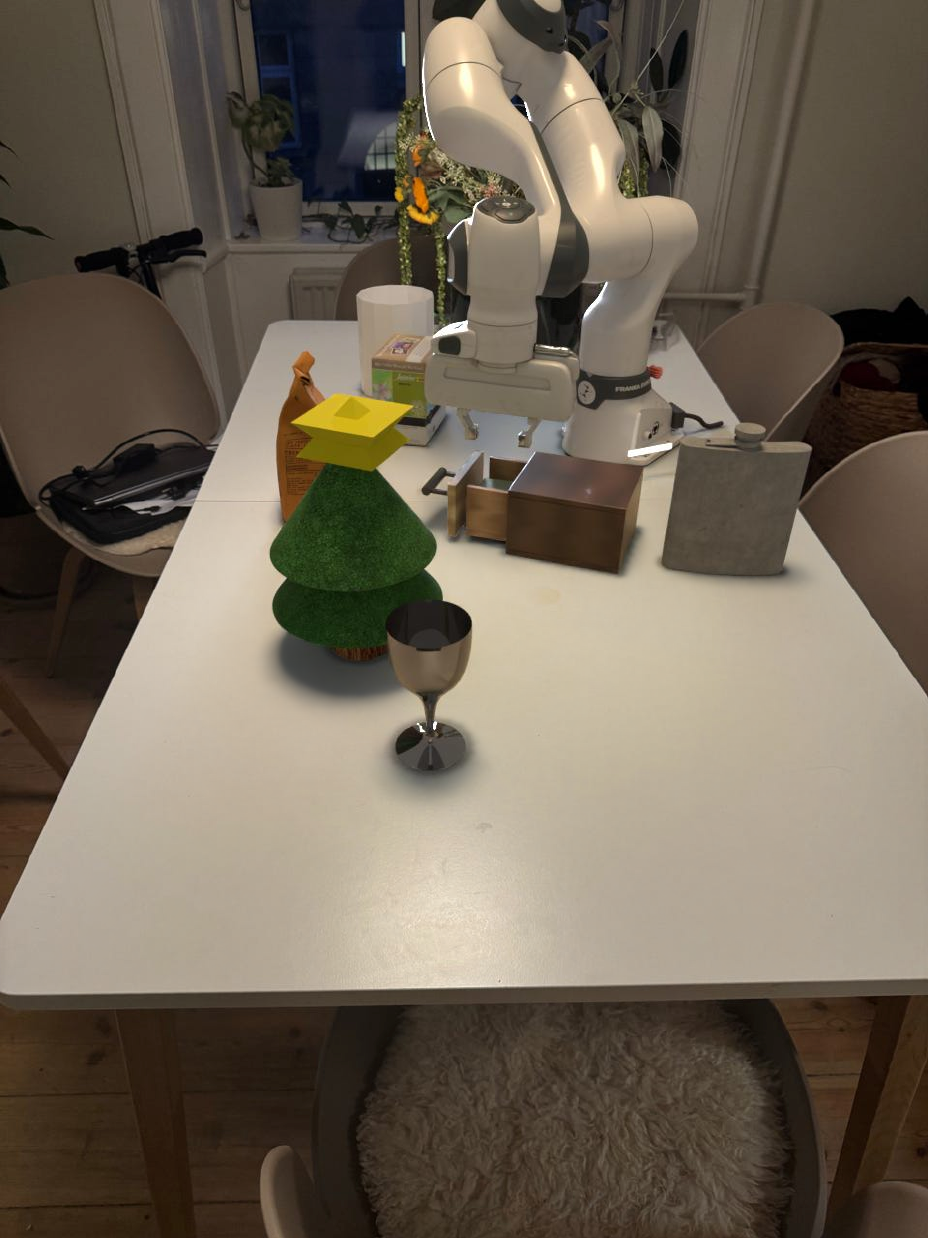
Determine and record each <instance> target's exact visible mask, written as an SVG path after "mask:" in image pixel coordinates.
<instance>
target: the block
mask: <svg viewBox="0 0 928 1238" xmlns="http://www.w3.org/2000/svg"><path fill="white" fill-rule="evenodd" d="M513 483H514V482H511V481H504V480H497V479H489V477H483V481H482V482H481V483H480V485H479V486H481V487H487V488H493V489H499V490H506V491H508V490H509V489H510V487H511V486H512V484H513Z"/></svg>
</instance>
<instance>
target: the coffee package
mask: <svg viewBox="0 0 928 1238" xmlns="http://www.w3.org/2000/svg"><path fill="white" fill-rule="evenodd" d="M315 361H316V358H315V357H314V356H313V355H312V354H311V353H310V351H308V350H305V351H302V352H301V354H300V355H299V357H298V358H297V360H296V361H295V362H294V363H293V365H292V366H291V367H292V368H291V369H292V371H293V374H294V377H293V380H292V383H291V386H290V388H289V392H288V396H287V398H286V399H285V400H284V402H283V404H282V407H281V410H280V413H279V414H280V415H279V416H278V425H277V432H276V433H277V434H276V441H275V459H276V472H277V473H276V474H277V483H278V485H277V486H278V493H279V500H280V501H279V502H280V508H281V512H282V517H283V520H284V521H285V522H286V521H287V520H288V518H289V517H290V516H291V514H292V513H293V511H294V510H295V508H296V507H297V505H298V504H299V502H300V501H301V499H302V498H303V496H304V495H305V493H306V492H307V490H308V489H309V487H310V486H311V484H312V483H313V482H314V480H315V479H316V477H317V476H318V474H319V473H320V471H321V470H322V468H323V467H324V465H325V464H326V462H320V461H315V460H310V459H305V458H300V457H296V456H297V455H298V454H299V453H300V452H301V451H302V450H303V448H304V447H305V446H306V445H307V444H308V443H309V442H310V441H311V440H312V439H313V437H312V436H310V435H308V434H307V433H305V432H304V431H302V430H301V429H299V428H298V427H296V426H295V425H293V424H292V423H291V422H292V421H294V420H295V419H297V418H299V417H300V416H302V415H303V414H305V413H306V412H308V411H309V410H311V409H312V408H314V407H316V406H317V405H319V404H320V403H322V402H323V401H325V400H326V399H327V398H326V397H325V396H324V395H323V393H322V392H321V391H320V390H319V389H318V388H317V387H316V385H315V383H314V381H313V378H312V376H311V374H310V370H311V369H312V367H313V366H314V365H315Z"/></svg>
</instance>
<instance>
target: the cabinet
mask: <svg viewBox="0 0 928 1238" xmlns="http://www.w3.org/2000/svg"><path fill="white" fill-rule="evenodd" d="M527 461H528V463H527V464H526V466H525V467H524V469H523V470H522V471H521V473H520V474H519V476H518V477H517V479H516V480H515V482H514V483H513V484H512V486H511V487H510V489H509V490H508V507H507V531H506V541H505V555H509V556H510V555H511V556H516V557H521V558H527V559H533V560H537V561H544V562H548V563H550V562H551V563H554V564H561V565H566V566H571V567H578V568H583V569H587V570H594V571H600V572H605V573H610V574H614V575H615V574H616V575H617V574H618V575H619V573H620V570H621V568H622V565H623V562H624V560H625V557H626V555H627V553H628V549H629V547H630V544H631V541H632V539H633V537H634V534H635V532H636V529H637V523H638V515H639V507H640V500H641V494H642V486H643V485H642V484H643V478H644V470H645V467H644V466H640V465H631V464H619V463H612V462H605V461H598V460H591V459H585V458H578V457H573V456H571V455H563V454H556V453H551V452H550V453H549V452H544V451H543V452H542V451H537V450H535V451H534V453H533V454H532V456H531V457H530V459H529V460H527Z"/></svg>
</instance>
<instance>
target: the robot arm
mask: <svg viewBox="0 0 928 1238" xmlns="http://www.w3.org/2000/svg"><path fill="white" fill-rule="evenodd" d="M565 9H566V8H565V4H564V1H563V0H485V1H484V2H483V3H482V5H481V6H480V7H479V9H478V10H477V12H476V13H475V14H474V16H473V17H472V18H471V19H470V18H467V17H464V16H463V17H462V16H453V17H449V18H446V19H444V20H443V21H440V22H439V23H438V24H437V25H436V26H435V27H433V28H432V30H431V31H430V33H429V35H428V37H427V39H426V42H425V45H424V51H423V52H424V54H423V61H422V62H423V63H422V84H423V85H422V87H423V98H424V107H425V113H426V118H427V119H426V120H427V123H428V127H429V130H430V133H431V136H432V138H433V140H434V142H435V144H436V146H437V147H438V149H440V150H441V152H442V153H443V154H444V155H446V156H447V157H448V158H450V159H451V160H452V161H455V162H456V163H458V164H461V165H464V166H467V167H470V168H475V169H480V170H484V171H487V172H491V173H493V174H497V175H499V176H503V178H507V179H508V180H511V181H512V182H513V183H515V184H516V185H518V187H519V188H520V189H521V190H522V192H523V194H524V196H525V199H523V198H519V197H516V196H512V195H511V196H510V195H494V196H489V197H486V198H483V199H481V200H480V201H479V202H477V203H475V205H474V208H473V210H472V211H473V212H472V217H471V218H467V219H462V220H461V221H459V223H457V225H456V226H455V227H454V228H453V229H452V230H451V232H450V233H449V234H448V236H447V238H446V239H447V240H446V241H447V267H446V269H447V271H446V273H447V274H446V278H447V282H448V283H449V284H451V286H453V288H455V290H457V291H458V292H459V293H461V294H462V295H463V296H470V302H469V305H468V310H467V314H466V320H465V321H460V322H454V323H451V324H448V325H447V326H445V327H443V328H442V329H440V330H438V331H437V332H436V333H434V336H433V338H432V339H431V350H432V352H433V353H434V354H432V355H431V356H430V357H429V359H428V361H427V365H426V371H425V382H424V394H425V397H426V399H427V400H428V402H429V403H430V404H433V405H440V406H446V407H447V408H448V407H449V408H456V416H457V418H458V420H459V421H460V424H461V425H462V427H463V428H464V439H465V440H470V441H476V440H477V439H478V438H479V434H480V433H479V432H480V431H479V429H480V424H478V423H474V422H473V420H472V418H471V415H470V412H471V411H479V412H486V413H492V414H493V413H494V414H500V415H508V416H514V417H515V416H516V417H522V418H527V421H526V422H527V426H530V427H529V428H528V430H521V432H520V433H519V434H518V439H517V440H518V443H517V447H518V448H523V449H530V447H531V446H532V444H533V433H534V432H535V430H536V429H537V428H538V427H539V425H540V423H541V422H542V420H545V421H553V422H558V423H565V425H564V426H562V427H561V435H562V437H563V439H562V441H561V448H562V449H563V451H564V452H566V454H568V456H571V457H578V458H585V459H591V460H598V461H605V462H612V463H619V464H626V465H633V466H639V467H644V466H648V465H649V464H651V463H652V462H654V461H656V459H658V458H660V457H661V456H663V455H664V454H665V453H668V452H669V451H670V450H672V449H673V448H674V447H676V446H677V445H680V440H681V439H682V438H685V434H684V433H683V432H682V431H681V430H680V429H683V428H684V426H685V421H686V419H690V420H693V421H696V422H697V423H698V424H699V425H700V426H701V427H703V428H704V429H708V430H709V429H711V430H712V429H715V428H719V427H723V426H724V424H725V423H724V420H720V421H716V422H713V423H708V422H706V421H705V420H704V419H703V418H702V417H701V416H699V415H697V414H694V413H689V412H686V411H685V410H684V409H682V408H681V407H679V406H678V405H677V404H675V403H673V402H672V401H669V402H668V401H667V400H666V399H665V398H664V397H663V396H661V395H660V394H659V393H658V392H657V391H656V390H655V389H653V385H652V381H651V378H653V379H655V380H660V379H661V378H662V376H663V374H664V369H663V367H662V366H656V365H655V364H650V365H649V366H648V360H649V353H650V347H651V341H652V335H653V328H654V324H655V320H656V317H657V313H658V310H659V308H660V305H661V302H662V300H663V298H664V297H665V296H664V295H665V293H666V291H667V289H668V288H669V285H670V283H671V281H672V279H673V277H674V276H675V274H676V272H677V271H678V270H679V268H680V267H681V266H682V265H683V263H685V262H686V260H687V259H688V258H689V257H690V256H691V255H692V253H693V251H694V250H695V248H696V245H697V243H698V242H697V241H698V236H699V223H698V219H697V215H696V213H695V211H694V209H693V208H692V206H690V204H689V203H687V202H686V201H685V200H682V199H679V198H675V197H671V196H664V195H650V196H641V197H633V198H626V197H625V196H624V194H623V193H622V192H621V190H620V187H619V183H618V176H619V175H620V173H621V171H622V169H623V167H624V164H625V161H626V155H627V152H626V151H627V150H626V146H625V143H624V141H623V139H622V137H621V135H620V133H619V131H618V128H617V125H616V124H615V122H614V119H613V118H612V116H611V113H610V112H609V109H608V107H607V105H606V102H605V101H604V99H603V97H602V95H601V93H600V91H599V90H598V87H597V86H596V84H595V83H594V81H593V79H592V78H591V76H590V75H589V73H588V72H587V71H586V68H584V67H583V65H582V64H581V62H580V61H579V60H578V59H577V58H576V56H575V55H574V54H572V53H570V52H569V51H566V49H567V46H568V42H569V31H568V28H567V15H566V14H567V13H566V10H565ZM515 95H517V96H518V97H520V99H521V100H522V101H523V102H524V105H525V108H526V112H527V116H528V117H525V115H523V114H522V113H521V112H520V111H519V110H518V109H517V108H516V106H515V105H514V104H513V103H512V102H511V100H512V99H513V98H514V97H515ZM604 283H605V284H604ZM581 284H591V285H598V284H604V286H603V288H602V290H601V292H600V294H599V295H598V297H597V298H596V299H595V300H594V301H593V303H591V305H590V306H589V307H588V308H587V309H586V311H585V312H584V315H583V317H582V321H581V327H580V329H581V330H580V340H579V341H580V342H579V352H578V354H577V353H575V352H574V351H571V348H570V347H567V346H553V345H549V344H542V343H537V335H538V317H539V316H538V315H539V314H538V308H537V302H536V301H537V300H536V297H537V296H540V297H541V298H555V299H556V298H558V299H559V298H560V299H565V298H566V297H567V296H568V295H570V294H571V293H572V292H574V291H575V290H576V289H577V288H578V287H579V286H580V285H581Z"/></svg>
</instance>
